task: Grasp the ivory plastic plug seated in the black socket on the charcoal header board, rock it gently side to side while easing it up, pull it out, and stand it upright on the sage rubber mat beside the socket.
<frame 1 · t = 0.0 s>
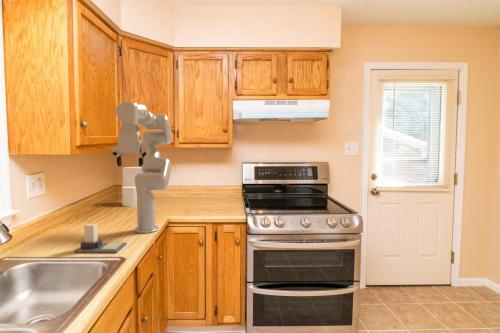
hand: (130, 166, 153), 37 cm above the worktop, tool pointing down, fingers open, 9 cm apart
white tall block: (134, 204, 253), on the worktop
header: (101, 248, 149), on the worktop
plug: (91, 246, 149), point 1 cm above the worktop, touching header
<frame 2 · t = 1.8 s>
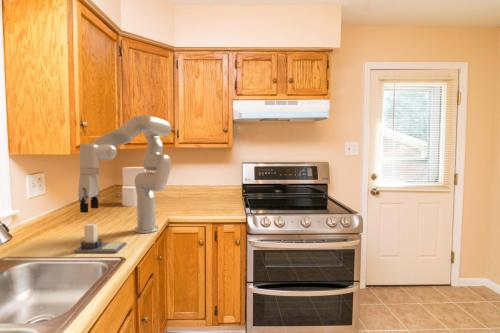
hand: (89, 210, 147), 18 cm above the worktop, tool pointing down, fingers open, 9 cm apart
nothing on the worktop moved.
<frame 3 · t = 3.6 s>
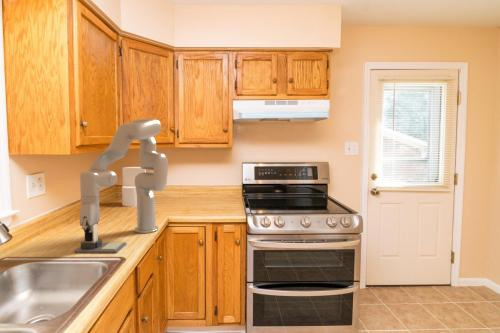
hand: (91, 239, 148), 4 cm above the worktop, tool pointing down, fingers closed on plug, 4 cm apart
plug: (91, 246, 149), point 1 cm above the worktop, touching gripper, header
everything else where it was.
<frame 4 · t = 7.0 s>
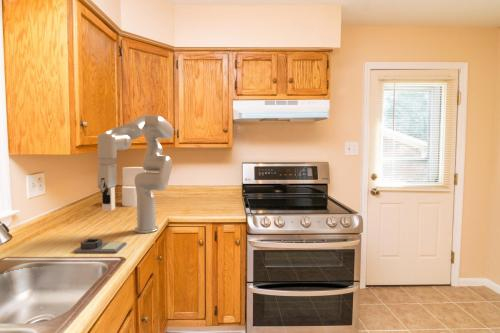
hand: (108, 202, 147), 21 cm above the worktop, tool pointing down, fingers closed on plug, 4 cm apart
plug: (108, 209, 148), point 18 cm above the worktop, touching gripper
everything else where it was.
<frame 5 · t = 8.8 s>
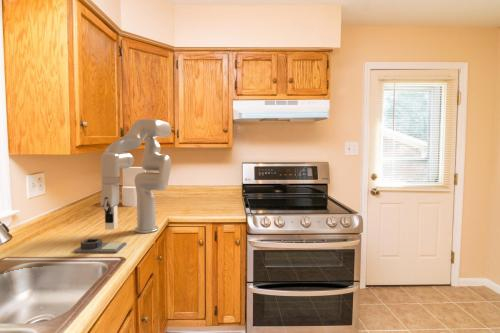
hand: (111, 221, 148), 13 cm above the worktop, tool pointing down, fingers closed on plug, 4 cm apart
plug: (111, 228, 148), point 9 cm above the worktop, touching gripper
everything else where it was.
when the fingers open (6 cm above the worktop, at t = 10.4 s): plug stays where it is, resting on header.
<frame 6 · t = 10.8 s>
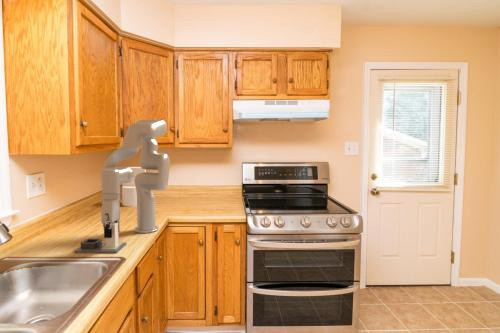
hand: (112, 234, 148), 6 cm above the worktop, tool pointing down, fingers open, 8 cm apart
plug: (112, 245, 149), point 1 cm above the worktop, touching header
everything else where it was.
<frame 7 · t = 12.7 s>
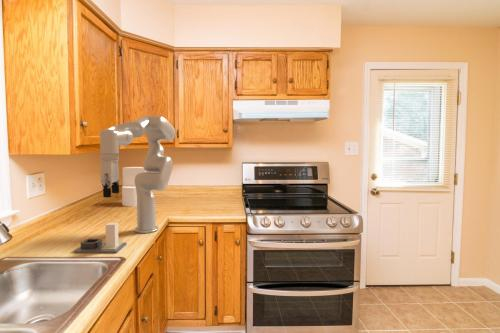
hand: (111, 195, 150), 24 cm above the worktop, tool pointing down, fingers open, 9 cm apart
nothing on the worktop moved.
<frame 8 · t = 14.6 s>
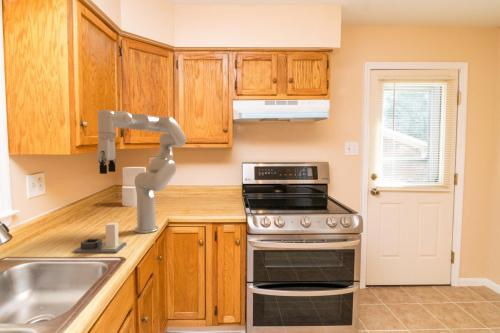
hand: (107, 172, 157), 33 cm above the worktop, tool pointing down, fingers open, 9 cm apart
nothing on the worktop moved.
at the end: plug inside the target area (0.4 cm from its centre), point 1.4 cm above the worktop; plug tilted 0°; the gripper is holding nothing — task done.
